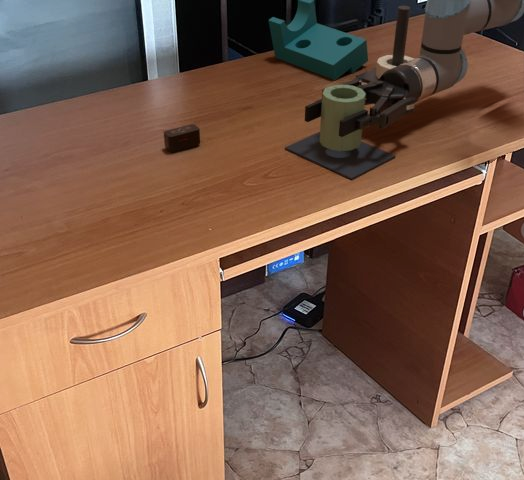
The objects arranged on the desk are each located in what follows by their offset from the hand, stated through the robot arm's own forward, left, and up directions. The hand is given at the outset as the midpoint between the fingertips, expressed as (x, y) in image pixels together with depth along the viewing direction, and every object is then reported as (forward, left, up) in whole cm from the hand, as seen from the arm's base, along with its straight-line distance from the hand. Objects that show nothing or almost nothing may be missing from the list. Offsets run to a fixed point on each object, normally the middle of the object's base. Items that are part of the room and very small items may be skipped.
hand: (323, 121), depth 134 cm
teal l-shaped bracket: (+32, -34, -8) cm, 47 cm away
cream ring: (+14, -39, -7) cm, 42 cm away
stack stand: (+14, -39, -8) cm, 42 cm away
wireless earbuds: (+22, +13, -8) cm, 27 cm away
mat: (0, -5, -8) cm, 9 cm away
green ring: (0, -5, -5) cm, 7 cm away
